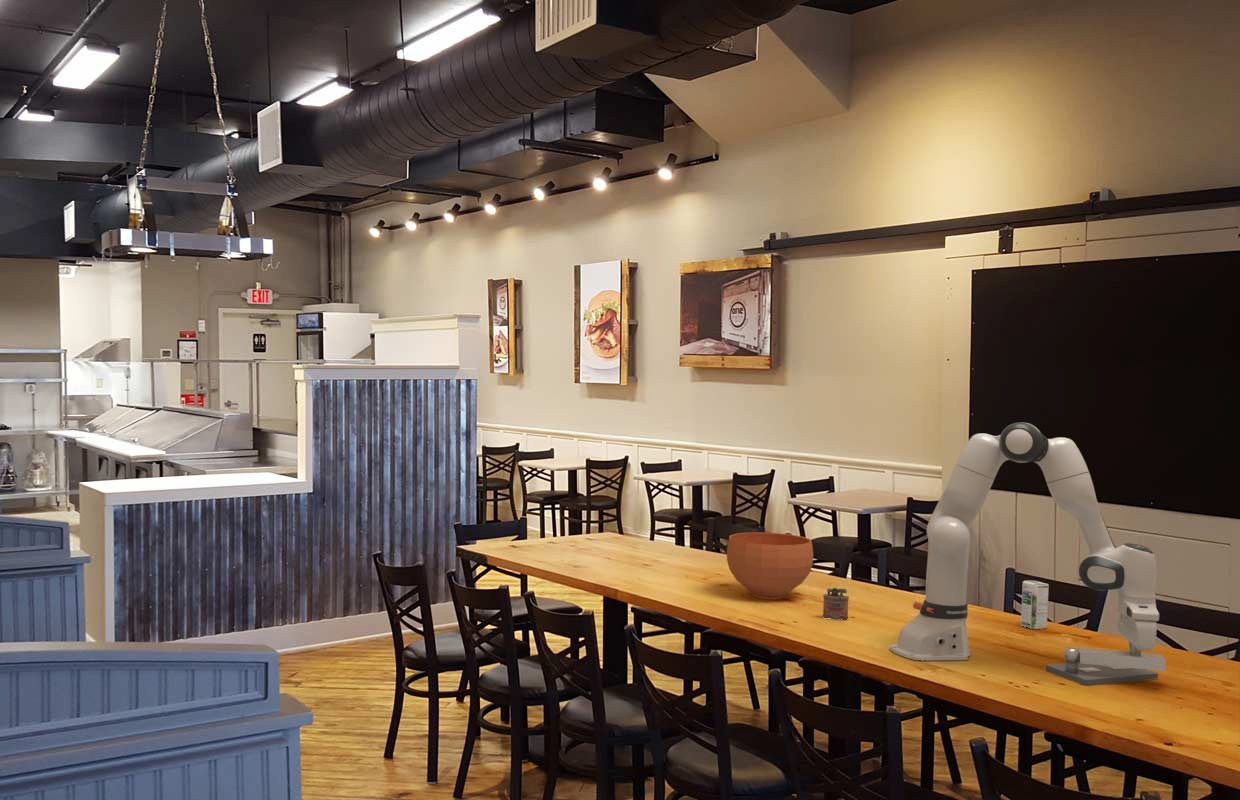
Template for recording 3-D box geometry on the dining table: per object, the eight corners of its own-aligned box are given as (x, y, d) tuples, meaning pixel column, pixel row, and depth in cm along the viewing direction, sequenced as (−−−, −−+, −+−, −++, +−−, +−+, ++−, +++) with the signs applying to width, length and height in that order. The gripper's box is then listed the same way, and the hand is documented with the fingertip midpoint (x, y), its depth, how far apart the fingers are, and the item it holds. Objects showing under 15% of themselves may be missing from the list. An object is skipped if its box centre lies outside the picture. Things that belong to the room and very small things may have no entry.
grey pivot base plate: (1085, 685, 256) (1086, 669, 256) (1045, 670, 269) (1046, 654, 269) (1157, 679, 264) (1158, 663, 264) (1115, 664, 277) (1115, 649, 277)
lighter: (822, 619, 322) (823, 588, 322) (822, 616, 326) (823, 586, 325) (848, 621, 320) (849, 589, 320) (848, 618, 324) (849, 587, 323)
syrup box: (1019, 626, 320) (1021, 580, 320) (1034, 625, 322) (1036, 580, 322) (1033, 630, 315) (1034, 584, 315) (1047, 629, 317) (1049, 583, 317)
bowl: (793, 609, 335) (795, 548, 334) (711, 598, 350) (713, 539, 349) (823, 594, 361) (824, 537, 360) (745, 584, 376) (747, 529, 375)
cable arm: (1066, 662, 261) (1066, 650, 261) (1062, 657, 266) (1063, 645, 266) (1165, 671, 255) (1165, 659, 255) (1160, 666, 260) (1160, 654, 260)
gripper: (1112, 597, 273) (1110, 648, 274) (1134, 614, 253) (1132, 668, 254) (1137, 599, 272) (1136, 650, 272) (1161, 615, 252) (1159, 670, 252)
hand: (1134, 659), depth 263 cm, fingers closed
